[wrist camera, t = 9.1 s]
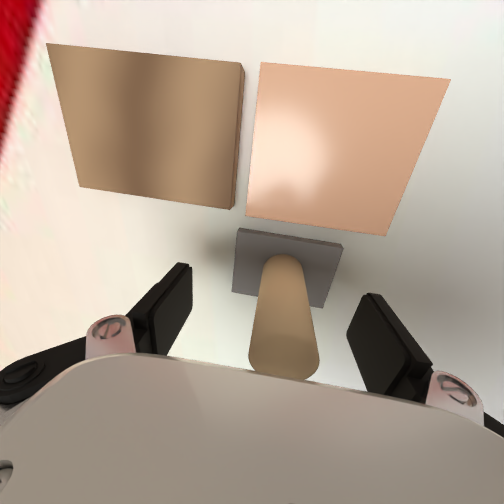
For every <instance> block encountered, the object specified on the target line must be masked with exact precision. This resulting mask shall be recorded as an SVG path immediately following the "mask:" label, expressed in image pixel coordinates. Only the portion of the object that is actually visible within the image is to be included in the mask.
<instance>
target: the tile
mask: <svg viewBox="0 0 504 504" xmlns="http://www.w3.org/2000/svg"><path fill="white" fill-rule="evenodd" d="M450 81H451V79H443V78H432V77H421V76H410V75H399V74H388V73H377V72H365V71H354V70H343V69H332V68H321V67H310V66H299V65H288V64H277V63H266V62H261V65H260V75H259V85H258V95H257V105H256V115H255V125H254V135H253V145H252V155H251V165H250V175H249V185H248V195H247V205H246V215H245V216H250V217H257V218H263V219H270V220H277V221H284V222H291V223H298V224H305V225H312V226H318V227H325V228H332V229H339V230H346V231H353V232H360V233H367V234H373V235H380V236H386V234H387V231H388V229H389V227H390V224H391V222H392V219H393V217H394V215H395V212H396V210H397V207H398V205H399V203H400V200H401V198H402V195H403V193H404V191H405V188H406V186H407V184H408V181H409V179H410V176H411V174H412V172H413V169H414V167H415V164H416V162H417V160H418V157H419V155H420V152H421V150H422V148H423V145H424V143H425V141H426V138H427V136H428V133H429V131H430V129H431V126H432V124H433V121H434V119H435V117H436V114H437V112H438V109H439V107H440V105H441V102H442V100H443V98H444V95H445V93H446V90H447V88H448V86H449V83H450Z"/></svg>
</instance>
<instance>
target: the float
mask: <svg viewBox="0 0 504 504" xmlns="http://www.w3.org/2000/svg"><path fill="white" fill-rule="evenodd" d="M342 251H343V247H342V245H341V244H337V243H331V242H325V241H318V240H312V239H306V238H299V237H293V236H287V235H281V234H274V233H268V232H262V231H255V230H249V229H243V228H239V229H238V231H237V240H236V250H235V261H234V272H233V282H232V292H235V293H240V294H246V295H251V296H257V297H258V301H257V307H256V312H255V318H254V324H253V330H252V336H251V342H250V347H249V354H248V357H249V362H250V364H251V366H252V367H253V369H254V370H255V371H258V372H264V373H269V374H275V375H280V376H286V377H291V378H296V379H302V380H305V379H307V378H309V377H310V376H312V375H313V374H314V373H315V372H316V370H317V369H318V366H319V361H320V360H319V354H318V348H317V343H316V338H315V333H314V327H313V322H312V317H311V311H310V306H312V307H317V308H323V306H324V303H325V300H326V298H327V295H328V292H329V289H330V286H331V283H332V280H333V277H334V274H335V271H336V268H337V266H338V263H339V260H340V257H341V254H342Z"/></svg>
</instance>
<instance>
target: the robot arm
mask: <svg viewBox="0 0 504 504" xmlns="http://www.w3.org/2000/svg"><path fill="white" fill-rule="evenodd" d="M192 306H193V294H192V267H189V264H186V263H180V262H178V263H176V265H175V266H174V267H173V268H172V269H171V270H170V271H169V272H168V273H167V274H166V275H165V276H164V277H163V278H162V280H161V281H160V282H159V283H156V284H155V285H154V286H153V287H152V288H151V289H150V290H149V291H148V292H147V293H146V294H145V295H144V296H143V297H142V299H141V300H140V301H139V302H138V303H137V304H136V305H135V306H134V307H133V308H132V309H131V310H130V311H129V312H128V313H127V314H126V315H125V316H123V315H111V316H107V317H104V318H102V319H100V320H98V321H96V322H95V323H94V324H92V325H91V326H90V328H89V329H88V331H87V334H86V336H85V337H82V338H79V339H76V340H73V341H71V342H68V343H65V344H62V345H59V346H56V347H53V348H50V349H48V350H45V351H42V352H39V353H36V354H33V355H30V356H27V357H25V358H22V359H20V360H17V361H15V362H14V363H12V364H10V365H8V366H7V367H5V368H4V369H3V370H1V371H0V504H504V425H503V424H501V423H500V422H498V421H497V420H495V419H494V418H493V417H491V416H490V415H488V414H487V413H485V412H484V411H483V404H482V401H481V399H480V398H479V396H478V395H477V394H476V393H475V391H474V390H473V389H472V388H471V387H469V386H468V385H467V384H466V383H465V382H463V381H462V380H460V379H459V378H457V377H455V376H453V375H451V374H449V373H446V372H443V371H435V372H434V371H433V370H432V368H431V366H432V365H433V363H432V362H431V361H430V359H429V358H428V357H427V355H426V354H425V353H424V351H423V350H422V349H421V347H420V346H419V345H418V343H417V342H416V341H415V339H414V338H413V337H412V335H411V334H410V333H409V331H408V330H407V329H406V328H405V326H404V325H403V324H402V322H401V321H400V320H399V318H398V317H397V316H396V314H395V313H394V312H393V310H392V309H391V308H390V306H389V305H388V304H387V302H386V301H385V300H384V298H383V297H382V296H381V295H379V294H373V293H367V294H366V295H363V296H362V298H361V301H360V303H359V305H358V307H357V310H356V312H355V314H354V316H353V319H352V321H351V323H350V325H349V328H348V330H347V334H346V336H347V340H348V342H349V345H350V347H351V350H352V353H353V355H354V358H355V360H356V363H357V365H358V368H359V371H360V373H361V376H362V378H363V381H364V383H365V386H366V389H367V391H368V392H366V391H360V390H355V389H350V388H345V387H339V386H334V385H329V384H323V383H318V382H313V381H307V380H302V379H296V378H291V377H286V376H280V375H275V374H269V373H264V372H258V371H253V370H247V369H241V368H236V367H230V366H224V365H219V364H213V363H207V362H202V361H196V360H190V359H184V358H177V357H171V356H167V354H168V352H169V350H170V348H171V347H172V345H173V343H174V341H175V339H176V338H177V336H178V334H179V332H180V330H181V329H182V327H183V325H184V323H185V321H186V320H187V318H188V316H189V314H190V312H191V310H192Z"/></svg>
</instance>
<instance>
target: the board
mask: <svg viewBox="0 0 504 504" xmlns="http://www.w3.org/2000/svg"><path fill="white" fill-rule="evenodd" d="M46 46H47V50H48V54H49V58H50V63H51V67H52V71H53V75H54V80H55V84H56V88H57V92H58V97H59V101H60V105H61V110H62V114H63V118H64V122H65V127H66V131H67V135H68V139H69V144H70V148H71V152H72V156H73V161H74V165H75V169H76V173H77V178H78V182H79V186H80V187H84V188H91V189H97V190H104V191H110V192H117V193H123V194H130V195H136V196H143V197H149V198H156V199H163V200H169V201H176V202H182V203H189V204H195V205H202V206H208V207H215V208H221V209H228V210H230V209H231V208H232V207H233V206H234V199H235V187H236V175H237V162H238V150H239V138H240V126H241V114H242V101H243V89H244V77H245V72H244V69H243V67H242V65H241V63H238V62H228V61H218V60H208V59H198V58H188V57H178V56H169V55H159V54H149V53H139V52H129V51H119V50H109V49H100V48H90V47H80V46H70V45H60V44H50V43H46Z"/></svg>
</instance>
